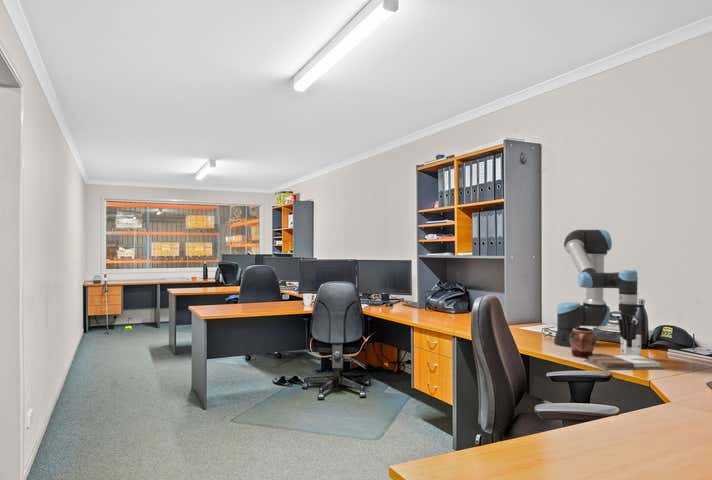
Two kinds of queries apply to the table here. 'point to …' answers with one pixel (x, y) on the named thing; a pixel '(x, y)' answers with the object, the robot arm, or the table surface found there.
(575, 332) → the decorative planter
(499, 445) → the table surface
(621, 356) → the white flat board
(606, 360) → the walnut plank
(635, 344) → the ink box
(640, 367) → the underlay mat
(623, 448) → the table surface
